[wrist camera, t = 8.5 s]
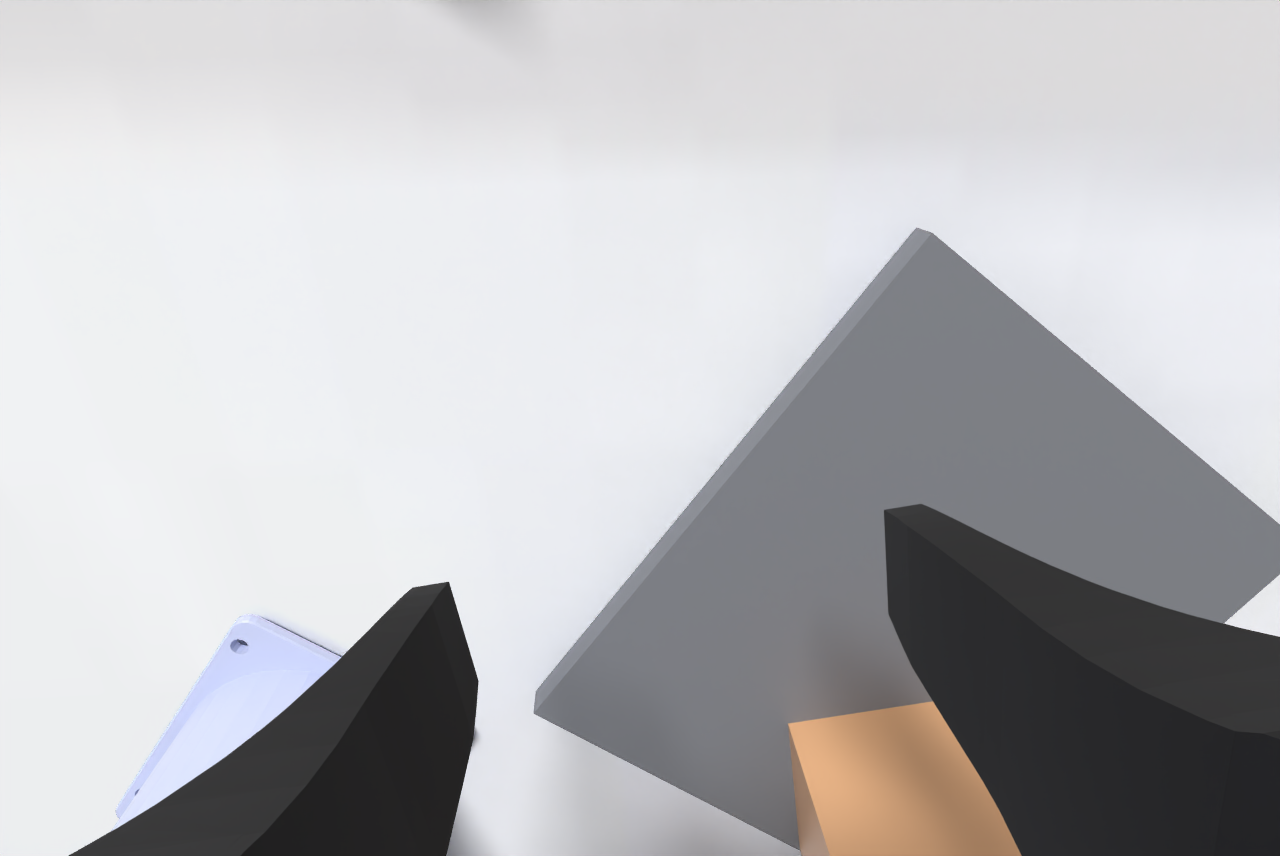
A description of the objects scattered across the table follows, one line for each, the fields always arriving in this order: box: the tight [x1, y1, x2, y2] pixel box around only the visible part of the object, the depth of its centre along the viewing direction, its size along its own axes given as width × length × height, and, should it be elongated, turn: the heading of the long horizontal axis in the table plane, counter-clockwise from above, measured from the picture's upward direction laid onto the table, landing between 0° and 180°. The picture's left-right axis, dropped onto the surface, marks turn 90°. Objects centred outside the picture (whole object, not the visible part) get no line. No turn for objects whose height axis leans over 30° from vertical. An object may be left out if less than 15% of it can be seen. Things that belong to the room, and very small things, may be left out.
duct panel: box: [534, 228, 1280, 850], centre depth 22 cm, size 18×16×5 cm
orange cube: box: [788, 701, 1021, 856], centre depth 23 cm, size 6×6×6 cm
